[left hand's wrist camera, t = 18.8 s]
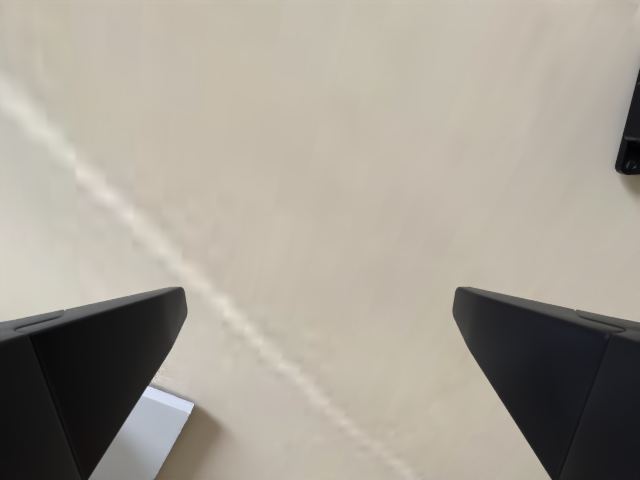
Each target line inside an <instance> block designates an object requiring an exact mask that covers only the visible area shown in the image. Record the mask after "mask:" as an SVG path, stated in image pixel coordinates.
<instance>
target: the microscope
mask: <svg viewBox="0 0 640 480" xmlns="http://www.w3.org/2000/svg"><path fill="white" fill-rule="evenodd" d="M193 406H194V404H193V403H191V402H188V401H186V400H183V399H181V398H178V397H176V396H173V395H170V394H168V393H165V392H163V391H160V390H158V389H155V388H152V387H150V386H148V387H147V388H146V390H145V391H144V393H143V394H142V396H141V398H140V399H139V401H138V402H137V404H136V405H135V407H134V409H133V410H132V412H131V413H130V415H129V416H128V418H127V420H126V421H125V423H124V424H123V426H122V427H121V429H120V431H119V432H118V434H117V435H116V437H115V438H114V440H113V442H112V443H111V445H110V446H109V448H108V449H107V451H106V453H105V454H104V456H103V457H102V459H101V460H100V462H99V464H98V465H97V467H96V468H95V470H94V471H93V473H92V475H91V476H90V478H89V479H88V480H154V479H155V477H156V475H157V473H158V472H159V470H160V468H161V466H162V464H163V462H164V461H165V459H166V457H167V455H168V453H169V451H170V450H171V448H172V446H173V444H174V442H175V440H176V439H177V437H178V435H179V433H180V431H181V430H182V428H183V426H184V424H185V422H186V420H187V419H188V417H189V415H190V413H191V411H192V408H193Z"/></svg>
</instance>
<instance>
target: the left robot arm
mask: <svg viewBox="0 0 640 480" xmlns="http://www.w3.org/2000/svg"><path fill="white" fill-rule="evenodd" d="M629 161H630V164H629V166H628V167H627V168H626V165H627V163H628V162H629ZM615 169H616V171H617V172H618V173H621V174H626V175H635V174H640V70H639V74H638V77H637V81H636V85H635V89H634V93H633V97H632V101H631V105H630V109H629V113H628V117H627V121H626V125H625V129H624V133H623V137H622V141H621V144H620V148H619V152H618V156H617V160H616V164H615ZM186 317H187V303H186V297H185V291H184V289H183V288H182V287H168V288H163V289H159V290H154V291H149V292H145V293H140V294H135V295H131V296H126V297H122V298H117V299H112V300H108V301H103V302H98V303H94V304H89V305H85V306H80V307H75V308H71V309H66V310H65V311H64V310H59V311H55V312H50V313H45V314H40V315H35V316H31V317H26V318H21V319H16V320H11V321H6V322H0V480H88V479H89V478H90V476H91V475H92V473H93V471H94V470H95V468H96V467H97V465H98V464H99V462H100V460H101V459H102V457H103V456H104V454H105V453H106V451H107V449H108V448H109V446H110V445H111V443H112V442H113V440H114V438H115V437H116V435H117V434H118V432H119V431H120V429H121V427H122V426H123V424H124V423H125V421H126V420H127V418H128V416H129V415H130V413H131V412H132V410H133V409H134V407H135V405H136V404H137V402H138V401H139V399H140V398H141V396H142V394H143V393H144V391H145V390H146V388H147V387H148V385H149V383H150V382H151V380H152V379H153V377H154V376H155V374H156V372H157V371H158V369H159V368H160V366H161V365H162V363H163V361H164V360H165V358H166V357H167V355H168V354H169V352H170V350H171V349H172V347H173V345H174V343H175V341H176V338H177V336H178V334H179V332H180V330H181V328H182V326H183V323H184V321H185V319H186ZM453 317H454V319H455V321H456V323H457V326H458V328H459V330H460V332H461V334H462V336H463V338H464V341H465V343H466V345H467V347H468V349H469V350H470V352H471V354H472V355H473V357H474V358H475V360H476V361H477V363H478V365H479V366H480V368H481V369H482V371H483V372H484V374H485V376H486V377H487V379H488V380H489V382H490V383H491V385H492V387H493V388H494V390H495V391H496V393H497V394H498V396H499V398H500V399H501V401H502V402H503V404H504V405H505V407H506V409H507V410H508V412H509V413H510V415H511V416H512V418H513V420H514V421H515V423H516V424H517V426H518V427H519V429H520V431H521V432H522V434H523V435H524V437H525V438H526V440H527V442H528V443H529V445H530V446H531V448H532V449H533V451H534V453H535V454H536V456H537V457H538V459H539V460H540V462H541V464H542V465H543V467H544V468H545V470H546V471H547V473H548V475H549V476H550V478H551V479H552V480H640V322H634V321H629V320H624V319H619V318H614V317H609V316H605V315H600V314H595V313H590V312H585V311H581V310H576V311H575V310H574V309H570V308H565V307H560V306H556V305H551V304H546V303H542V302H537V301H532V300H528V299H523V298H519V297H514V296H509V295H505V294H500V293H495V292H491V291H486V290H481V289H477V288H472V287H458V288H457V289H456V291H455V297H454V303H453Z"/></svg>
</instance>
